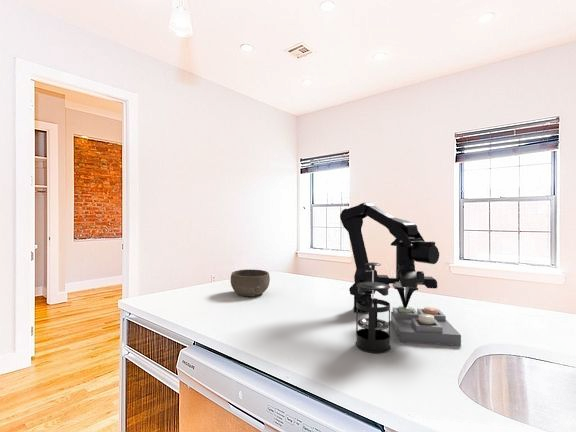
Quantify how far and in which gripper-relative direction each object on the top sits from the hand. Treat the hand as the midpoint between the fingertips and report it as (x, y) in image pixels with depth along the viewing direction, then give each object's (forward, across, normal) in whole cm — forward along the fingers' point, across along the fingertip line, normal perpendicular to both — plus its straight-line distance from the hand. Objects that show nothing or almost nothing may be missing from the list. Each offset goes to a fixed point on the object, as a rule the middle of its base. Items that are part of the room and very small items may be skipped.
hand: (404, 307), depth 107 cm
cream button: (+1, +4, -11) cm, 12 cm away
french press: (+6, -12, -20) cm, 24 cm away
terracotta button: (+2, +8, 0) cm, 8 cm away
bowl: (+6, -62, +30) cm, 69 cm away
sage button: (+2, 0, 0) cm, 2 cm away
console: (+6, +4, -6) cm, 9 cm away
